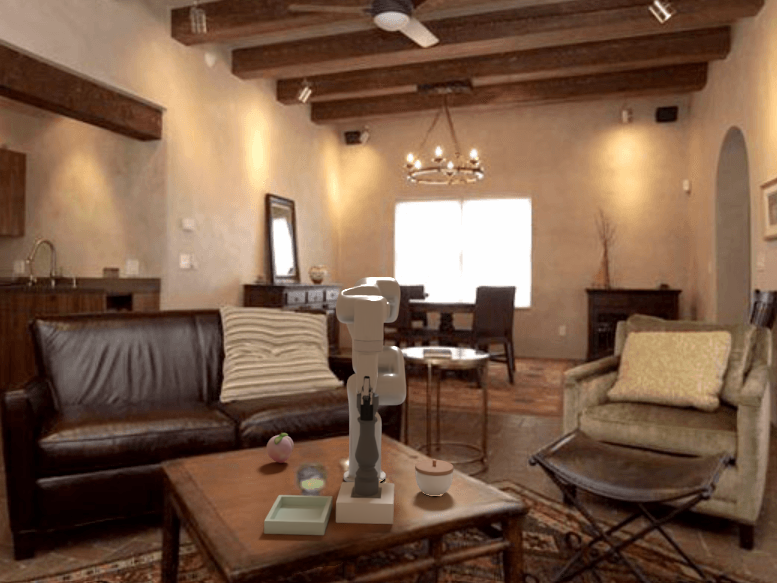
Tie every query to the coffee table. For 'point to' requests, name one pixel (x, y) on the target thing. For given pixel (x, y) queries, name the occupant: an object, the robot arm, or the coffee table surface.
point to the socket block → (365, 505)
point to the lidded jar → (434, 476)
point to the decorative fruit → (280, 447)
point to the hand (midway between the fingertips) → (367, 416)
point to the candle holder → (367, 453)
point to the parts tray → (299, 515)
